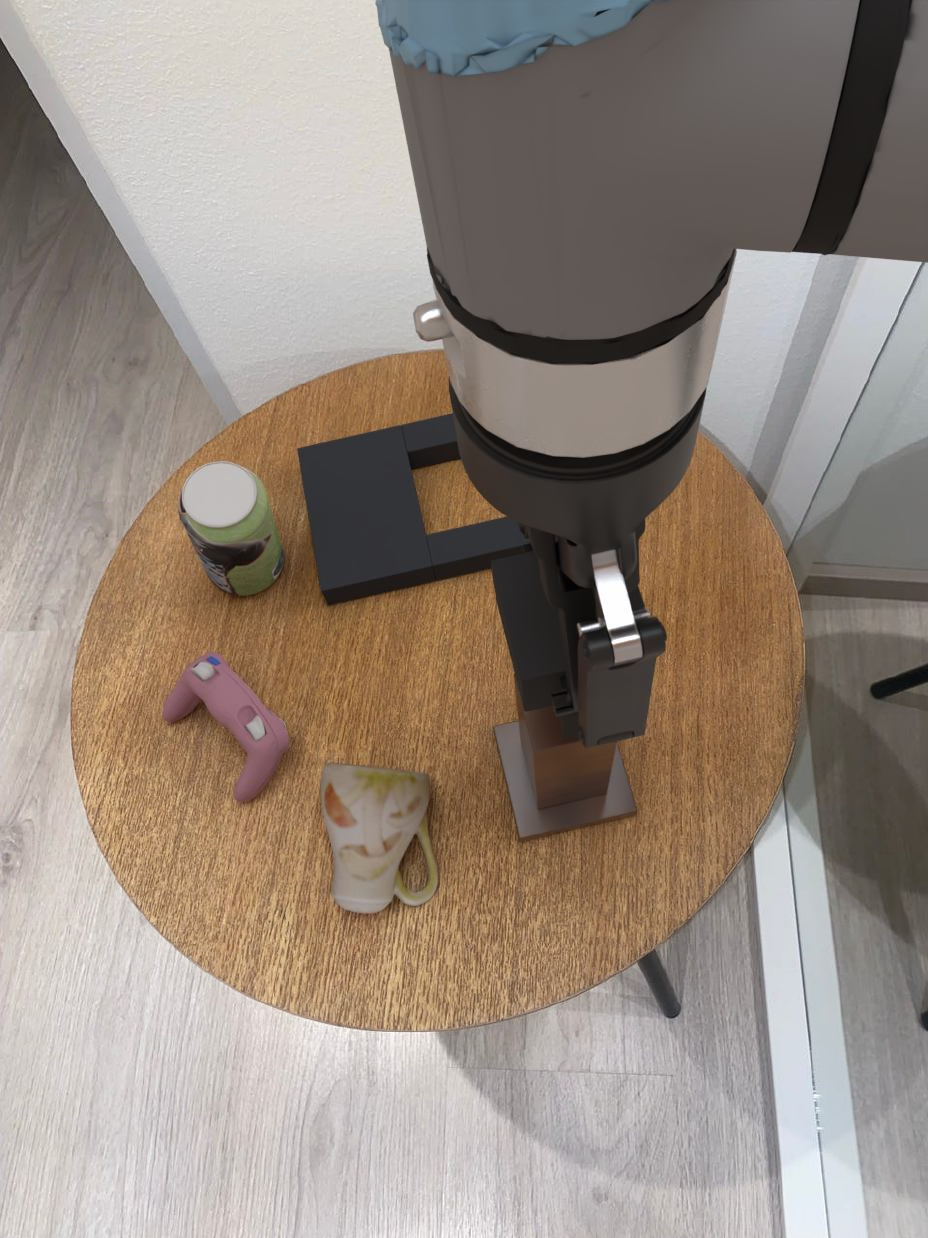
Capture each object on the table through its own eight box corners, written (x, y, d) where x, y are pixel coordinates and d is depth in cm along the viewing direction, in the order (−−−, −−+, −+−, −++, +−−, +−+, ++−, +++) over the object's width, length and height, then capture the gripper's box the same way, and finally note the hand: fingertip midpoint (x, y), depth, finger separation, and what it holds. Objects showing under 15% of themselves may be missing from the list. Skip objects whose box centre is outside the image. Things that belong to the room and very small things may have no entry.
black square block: (616, 571, 47) (620, 529, 44) (652, 683, 45) (659, 649, 41) (495, 599, 47) (490, 560, 44) (524, 713, 45) (521, 681, 41)
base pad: (496, 422, 79) (494, 403, 77) (534, 558, 74) (533, 542, 71) (304, 465, 79) (296, 447, 77) (327, 605, 73) (320, 591, 71)
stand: (604, 704, 68) (615, 621, 56) (636, 815, 65) (656, 753, 52) (493, 730, 68) (479, 653, 55) (519, 842, 65) (511, 787, 52)
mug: (313, 926, 64) (266, 822, 58) (372, 815, 71) (334, 713, 65) (417, 945, 61) (377, 837, 55) (467, 828, 68) (436, 722, 62)
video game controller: (292, 780, 69) (305, 721, 64) (240, 813, 67) (249, 755, 62) (209, 690, 73) (215, 628, 68) (156, 718, 70) (158, 655, 65)
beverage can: (229, 524, 77) (176, 435, 66) (314, 545, 76) (274, 458, 65) (196, 593, 75) (136, 512, 64) (284, 616, 73) (237, 538, 62)
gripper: (391, 164, 32) (459, 523, 53) (526, 692, 24) (544, 869, 45) (613, 113, 32) (594, 492, 53) (825, 623, 24) (703, 832, 45)
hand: (571, 664), depth 49 cm, fingers closed on black square block, 6 cm apart
